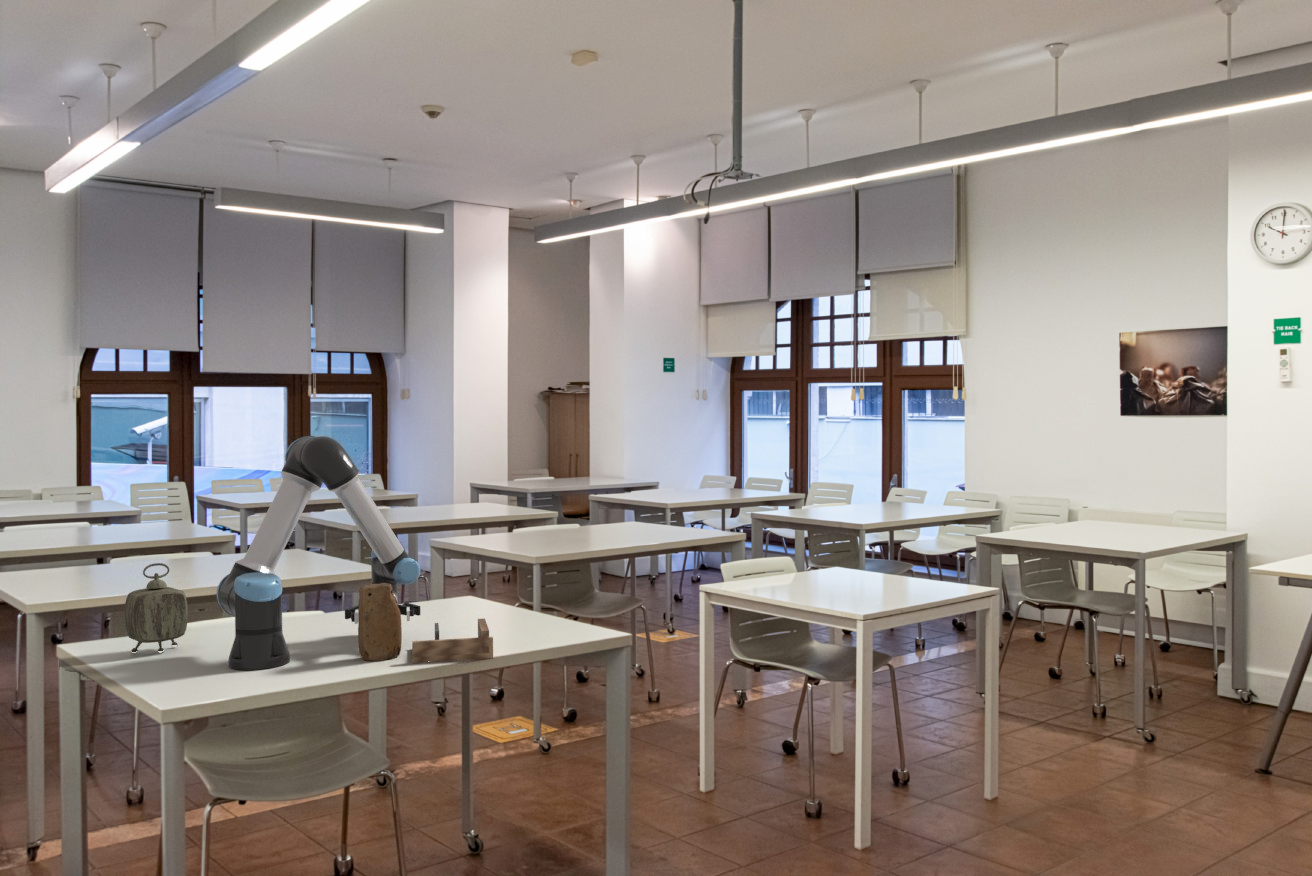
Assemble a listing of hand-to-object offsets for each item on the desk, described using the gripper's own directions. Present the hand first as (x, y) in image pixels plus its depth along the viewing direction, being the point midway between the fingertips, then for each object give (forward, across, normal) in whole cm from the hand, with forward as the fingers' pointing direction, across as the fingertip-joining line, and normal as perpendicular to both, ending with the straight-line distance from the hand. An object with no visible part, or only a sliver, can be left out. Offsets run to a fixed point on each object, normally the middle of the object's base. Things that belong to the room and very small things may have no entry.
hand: (382, 617), depth 277 cm
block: (0, +1, -11) cm, 11 cm away
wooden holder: (0, -18, -11) cm, 21 cm away
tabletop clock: (-26, +61, -11) cm, 67 cm away
